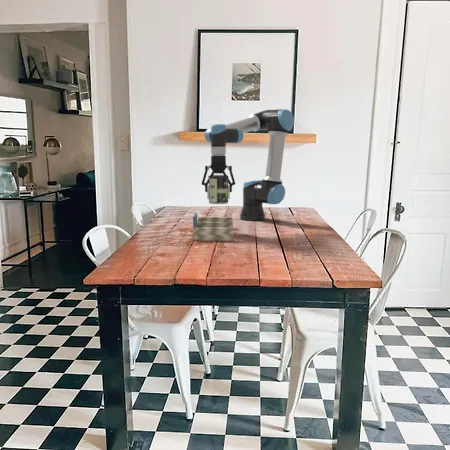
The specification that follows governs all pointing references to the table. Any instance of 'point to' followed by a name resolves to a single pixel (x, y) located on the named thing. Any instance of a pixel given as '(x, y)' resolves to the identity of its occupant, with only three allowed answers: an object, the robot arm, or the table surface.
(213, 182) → the coffee can
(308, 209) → the table surface
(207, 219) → the organizer
